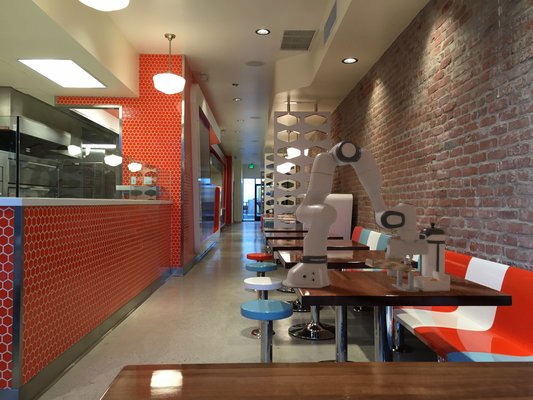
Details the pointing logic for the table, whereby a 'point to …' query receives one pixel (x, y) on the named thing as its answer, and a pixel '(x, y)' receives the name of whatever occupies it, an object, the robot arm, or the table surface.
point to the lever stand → (404, 286)
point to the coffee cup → (392, 259)
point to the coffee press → (433, 251)
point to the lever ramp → (389, 265)
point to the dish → (432, 282)
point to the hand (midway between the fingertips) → (407, 264)
